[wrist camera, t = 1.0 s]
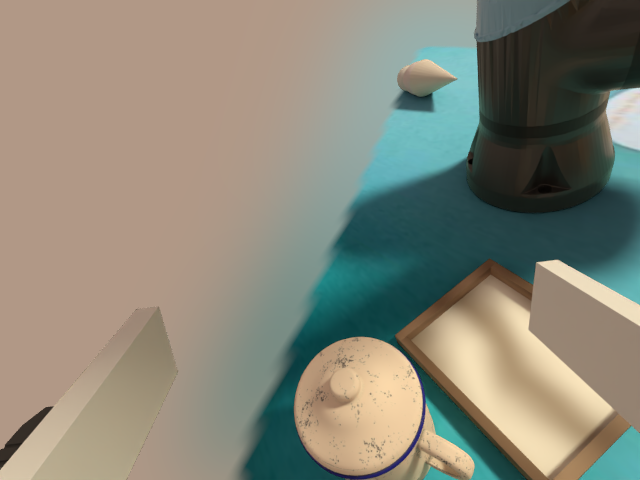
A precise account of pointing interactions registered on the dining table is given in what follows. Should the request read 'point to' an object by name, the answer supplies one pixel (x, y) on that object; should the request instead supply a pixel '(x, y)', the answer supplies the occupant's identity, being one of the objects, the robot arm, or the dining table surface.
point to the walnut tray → (511, 377)
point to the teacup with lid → (371, 416)
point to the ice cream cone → (423, 78)
